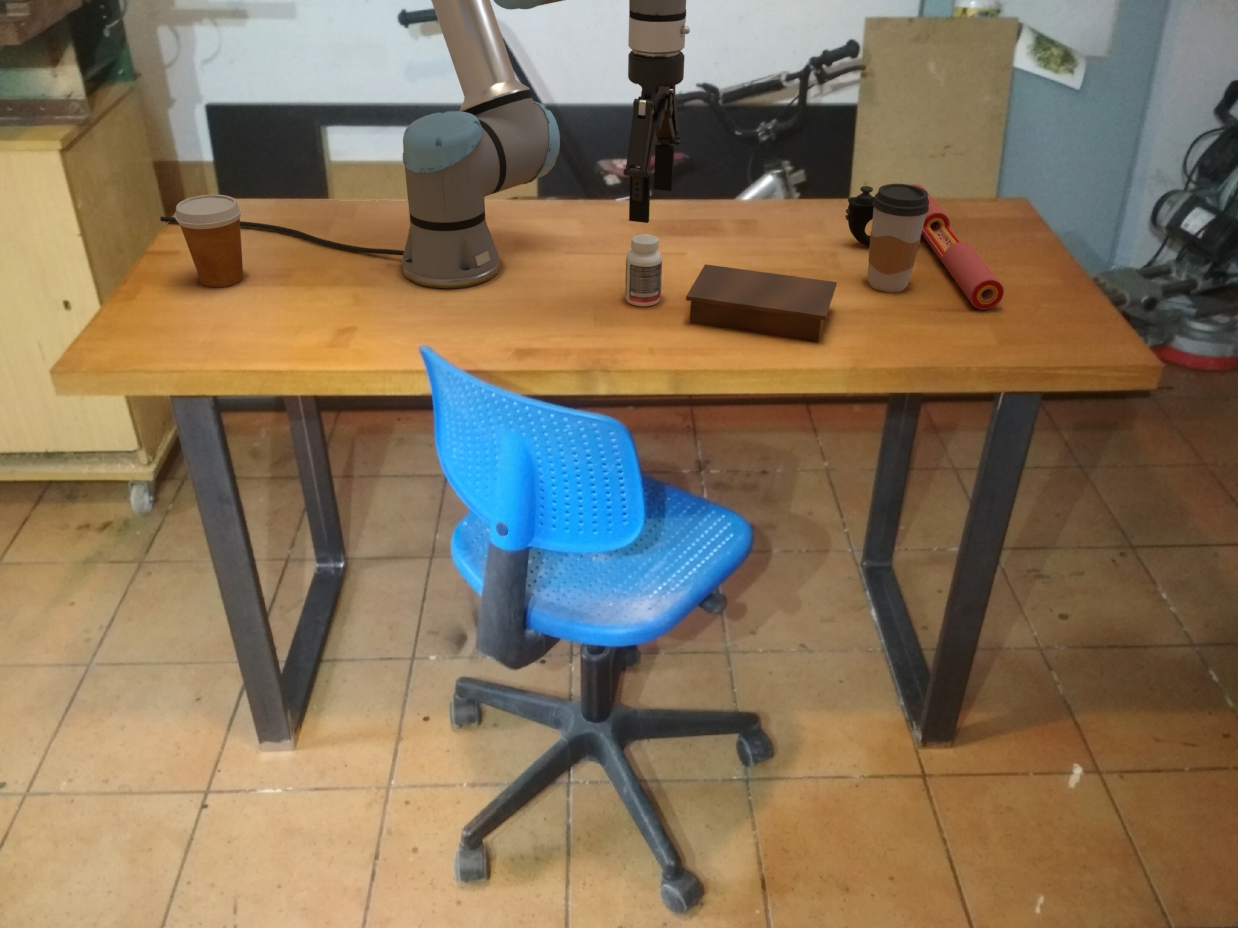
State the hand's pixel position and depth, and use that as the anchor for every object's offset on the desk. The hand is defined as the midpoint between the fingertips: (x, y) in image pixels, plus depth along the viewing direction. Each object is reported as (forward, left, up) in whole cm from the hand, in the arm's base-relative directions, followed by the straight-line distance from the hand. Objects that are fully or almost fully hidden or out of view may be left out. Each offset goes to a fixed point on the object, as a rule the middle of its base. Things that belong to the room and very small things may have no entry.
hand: (651, 205), depth 153 cm
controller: (+31, +33, -15) cm, 48 cm away
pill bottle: (-1, -1, -15) cm, 15 cm away
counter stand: (+17, -1, -15) cm, 23 cm away
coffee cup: (+34, +17, -15) cm, 41 cm away
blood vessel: (+42, +32, -15) cm, 55 cm away
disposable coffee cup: (-65, -15, -15) cm, 68 cm away
